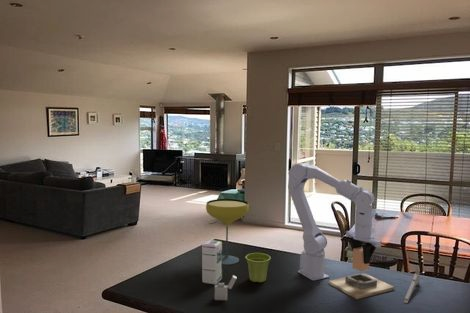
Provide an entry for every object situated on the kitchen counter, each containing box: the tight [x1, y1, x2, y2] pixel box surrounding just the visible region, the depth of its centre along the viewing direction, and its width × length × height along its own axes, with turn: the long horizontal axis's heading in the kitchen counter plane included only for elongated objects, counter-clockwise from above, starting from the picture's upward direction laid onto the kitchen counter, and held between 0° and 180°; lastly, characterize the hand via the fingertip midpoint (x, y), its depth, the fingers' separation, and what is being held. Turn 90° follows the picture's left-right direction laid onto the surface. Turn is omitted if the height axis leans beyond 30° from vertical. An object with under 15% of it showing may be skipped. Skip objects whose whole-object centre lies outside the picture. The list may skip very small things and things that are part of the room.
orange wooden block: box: [352, 247, 370, 272], centre depth 132 cm, size 4×4×7 cm
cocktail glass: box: [205, 198, 250, 266], centre depth 156 cm, size 18×18×25 cm
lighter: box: [214, 274, 237, 301], centre depth 121 cm, size 7×2×8 cm, turn 88°
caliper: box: [403, 268, 420, 304], centre depth 129 cm, size 20×1×6 cm, turn 144°
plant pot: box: [245, 252, 272, 283], centre depth 137 cm, size 9×9×9 cm
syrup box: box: [201, 239, 223, 285], centre depth 135 cm, size 6×6×14 cm
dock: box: [328, 272, 395, 300], centre depth 133 cm, size 14×18×3 cm
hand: (361, 261), depth 132 cm, fingers closed on orange wooden block, 4 cm apart
